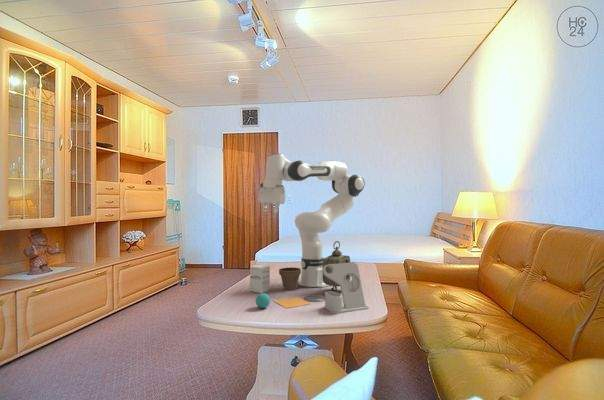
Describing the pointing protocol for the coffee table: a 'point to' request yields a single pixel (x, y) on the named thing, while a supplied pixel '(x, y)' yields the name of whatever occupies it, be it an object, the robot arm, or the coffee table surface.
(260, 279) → the supplement box
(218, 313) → the coffee table surface
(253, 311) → the coffee table surface
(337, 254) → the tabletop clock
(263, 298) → the ball
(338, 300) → the grey coffee machine
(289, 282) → the flower pot
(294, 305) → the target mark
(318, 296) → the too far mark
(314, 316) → the coffee table surface
